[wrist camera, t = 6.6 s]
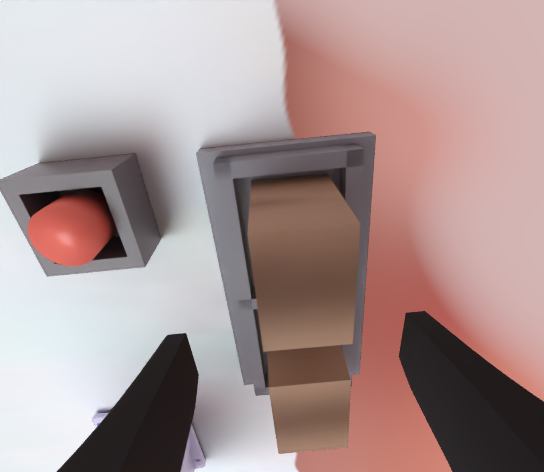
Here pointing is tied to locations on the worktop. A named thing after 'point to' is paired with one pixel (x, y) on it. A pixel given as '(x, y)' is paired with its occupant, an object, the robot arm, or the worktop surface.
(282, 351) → the block
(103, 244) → the button cap
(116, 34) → the worktop surface
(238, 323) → the grey divided tray
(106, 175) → the button housing
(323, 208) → the block
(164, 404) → the robot arm
